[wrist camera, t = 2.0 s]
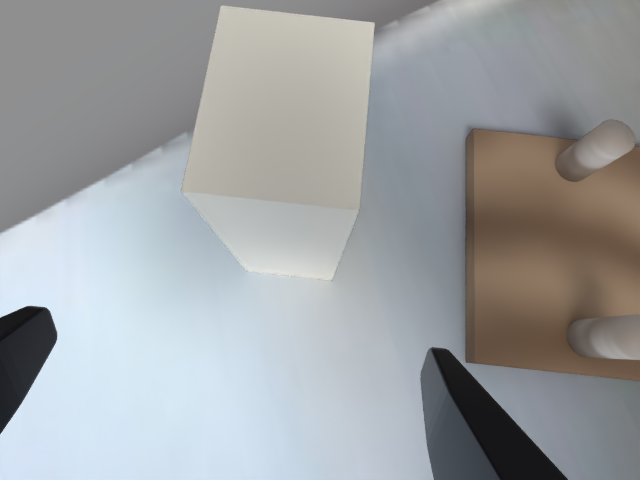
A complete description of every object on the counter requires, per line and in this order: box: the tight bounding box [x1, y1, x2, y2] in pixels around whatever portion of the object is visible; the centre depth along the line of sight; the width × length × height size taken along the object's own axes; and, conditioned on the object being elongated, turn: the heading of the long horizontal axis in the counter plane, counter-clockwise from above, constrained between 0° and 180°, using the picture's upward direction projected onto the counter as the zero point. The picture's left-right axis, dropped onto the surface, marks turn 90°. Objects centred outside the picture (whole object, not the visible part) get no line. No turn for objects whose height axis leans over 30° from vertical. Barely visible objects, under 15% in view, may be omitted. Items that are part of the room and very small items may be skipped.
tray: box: [466, 120, 640, 381], centre depth 21 cm, size 14×12×5 cm
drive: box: [181, 6, 375, 281], centre depth 17 cm, size 7×5×12 cm
